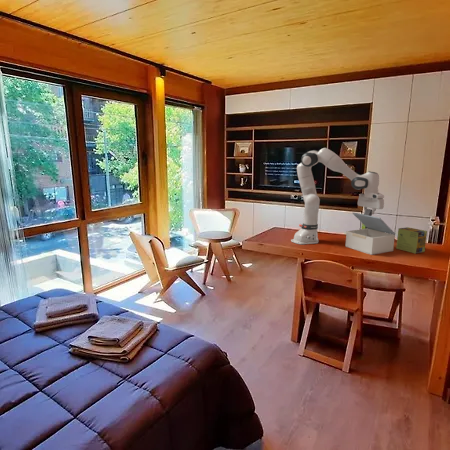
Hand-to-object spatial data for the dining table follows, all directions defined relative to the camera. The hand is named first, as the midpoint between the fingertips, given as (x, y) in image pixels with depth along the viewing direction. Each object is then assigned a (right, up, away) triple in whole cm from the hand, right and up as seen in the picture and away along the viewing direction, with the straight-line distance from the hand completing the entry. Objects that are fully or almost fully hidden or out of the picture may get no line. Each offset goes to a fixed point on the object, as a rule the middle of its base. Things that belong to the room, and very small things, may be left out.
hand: (369, 213), depth 235 cm
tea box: (+17, -21, +33) cm, 42 cm away
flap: (+4, -7, +4) cm, 9 cm away
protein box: (+31, -27, +3) cm, 41 cm away
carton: (+3, -26, +7) cm, 27 cm away
